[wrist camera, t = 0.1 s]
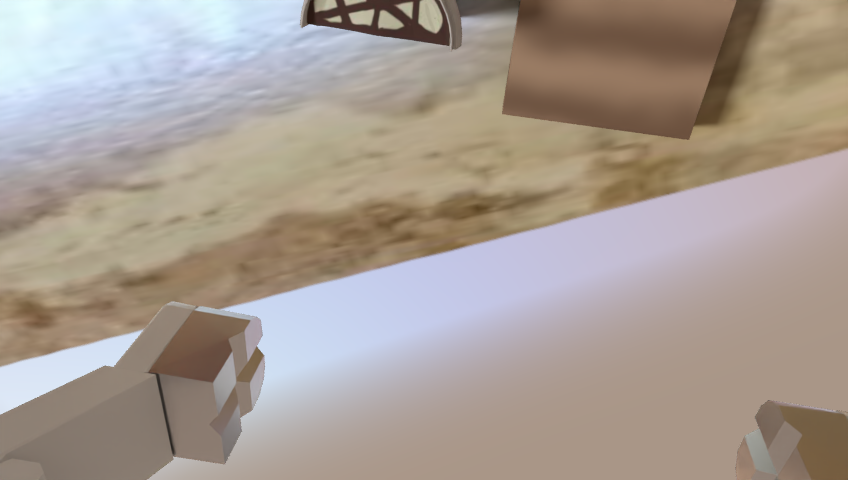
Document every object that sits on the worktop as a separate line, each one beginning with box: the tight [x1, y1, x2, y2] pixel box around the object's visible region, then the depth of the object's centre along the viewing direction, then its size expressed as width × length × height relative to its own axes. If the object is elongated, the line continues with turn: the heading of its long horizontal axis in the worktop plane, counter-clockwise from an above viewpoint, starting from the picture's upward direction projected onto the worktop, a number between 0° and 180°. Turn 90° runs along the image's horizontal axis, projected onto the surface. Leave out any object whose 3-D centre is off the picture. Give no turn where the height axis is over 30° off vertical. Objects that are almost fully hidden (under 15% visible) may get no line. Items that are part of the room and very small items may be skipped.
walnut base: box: [502, 0, 737, 140], centre depth 51 cm, size 16×16×3 cm
